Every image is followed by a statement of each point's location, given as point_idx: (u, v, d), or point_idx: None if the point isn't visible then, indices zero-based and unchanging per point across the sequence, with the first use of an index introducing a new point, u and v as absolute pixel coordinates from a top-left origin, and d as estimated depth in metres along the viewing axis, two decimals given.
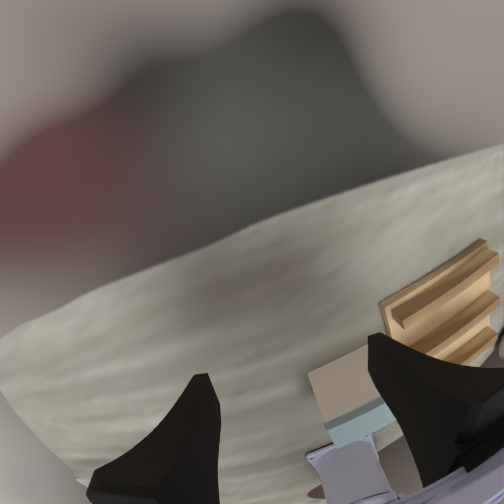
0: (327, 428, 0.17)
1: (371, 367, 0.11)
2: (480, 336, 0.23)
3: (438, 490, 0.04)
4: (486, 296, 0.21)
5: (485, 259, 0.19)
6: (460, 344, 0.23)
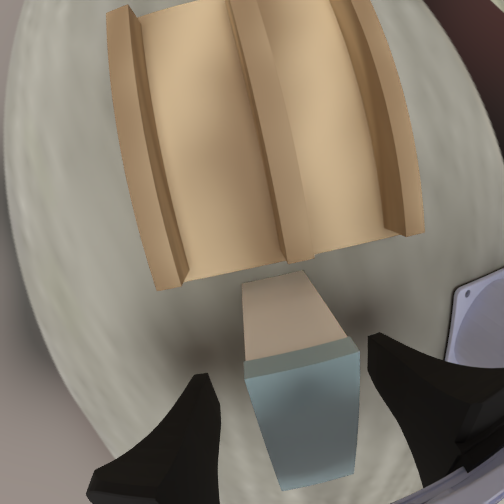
0: (281, 486, 0.09)
1: (371, 367, 0.11)
2: (341, 16, 0.09)
3: (438, 490, 0.04)
4: (228, 8, 0.09)
5: None
6: (345, 70, 0.10)
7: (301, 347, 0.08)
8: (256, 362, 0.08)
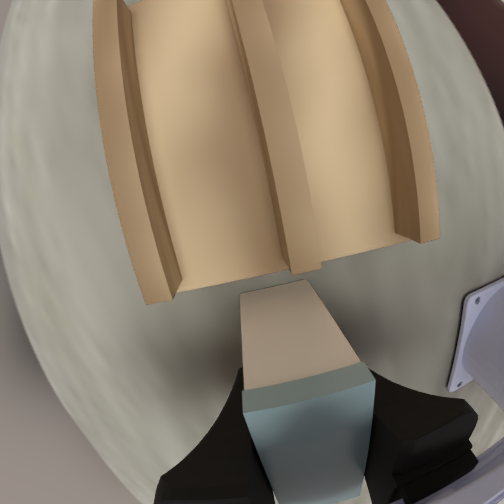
0: None
1: None
2: (348, 4, 0.08)
3: (438, 490, 0.04)
4: None
5: None
6: (353, 60, 0.09)
7: (308, 374, 0.07)
8: (256, 392, 0.06)
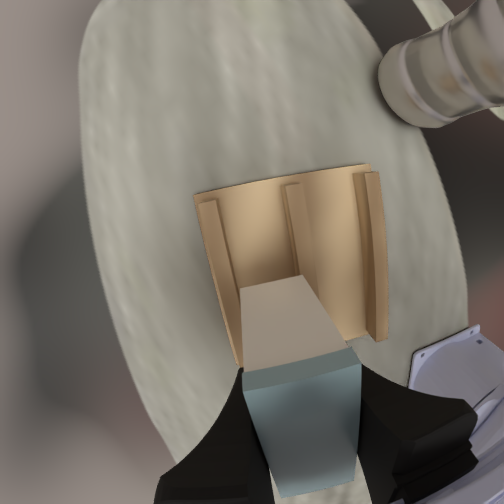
0: None
1: None
2: (359, 200, 0.18)
3: (438, 490, 0.04)
4: (284, 199, 0.18)
5: None
6: (355, 239, 0.19)
7: (301, 358, 0.08)
8: (255, 374, 0.07)
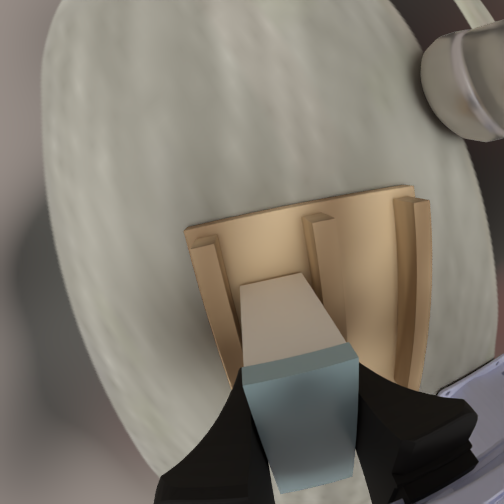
0: None
1: None
2: (401, 234, 0.13)
3: (438, 490, 0.04)
4: (307, 237, 0.13)
5: None
6: (391, 282, 0.15)
7: (300, 353, 0.08)
8: (254, 368, 0.07)
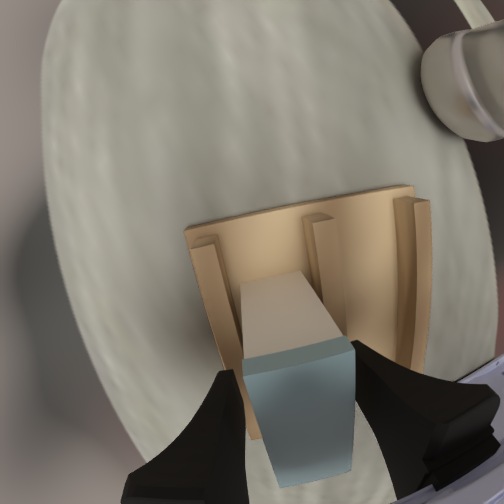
0: (279, 484, 0.09)
1: None
2: (401, 234, 0.13)
3: (438, 490, 0.04)
4: (307, 237, 0.13)
5: None
6: (391, 282, 0.14)
7: (298, 345, 0.08)
8: (254, 360, 0.08)
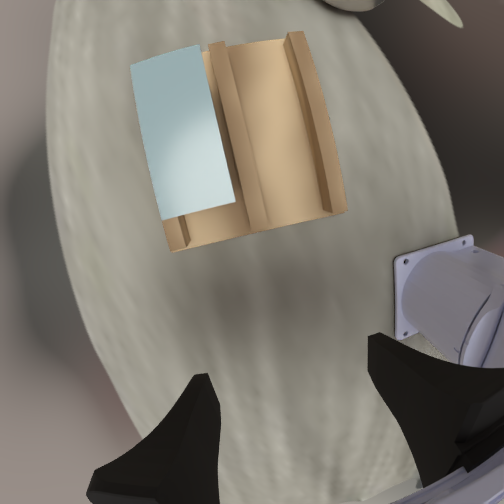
0: None
1: (371, 367, 0.11)
2: (291, 62, 0.16)
3: (438, 490, 0.04)
4: (212, 63, 0.15)
5: None
6: (293, 102, 0.17)
7: None
8: None
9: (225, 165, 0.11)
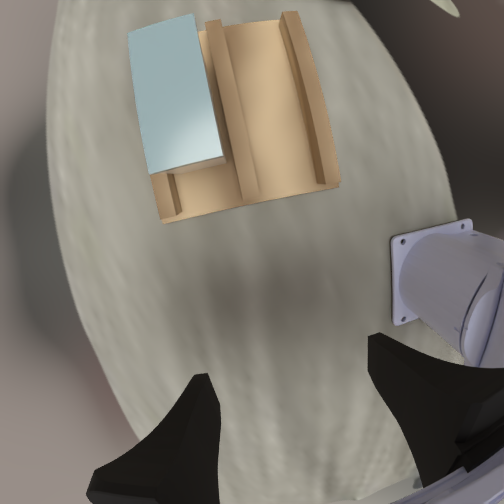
0: None
1: (371, 367, 0.11)
2: (285, 40, 0.15)
3: (438, 490, 0.04)
4: (208, 40, 0.15)
5: None
6: (287, 78, 0.16)
7: None
8: None
9: (213, 120, 0.11)
